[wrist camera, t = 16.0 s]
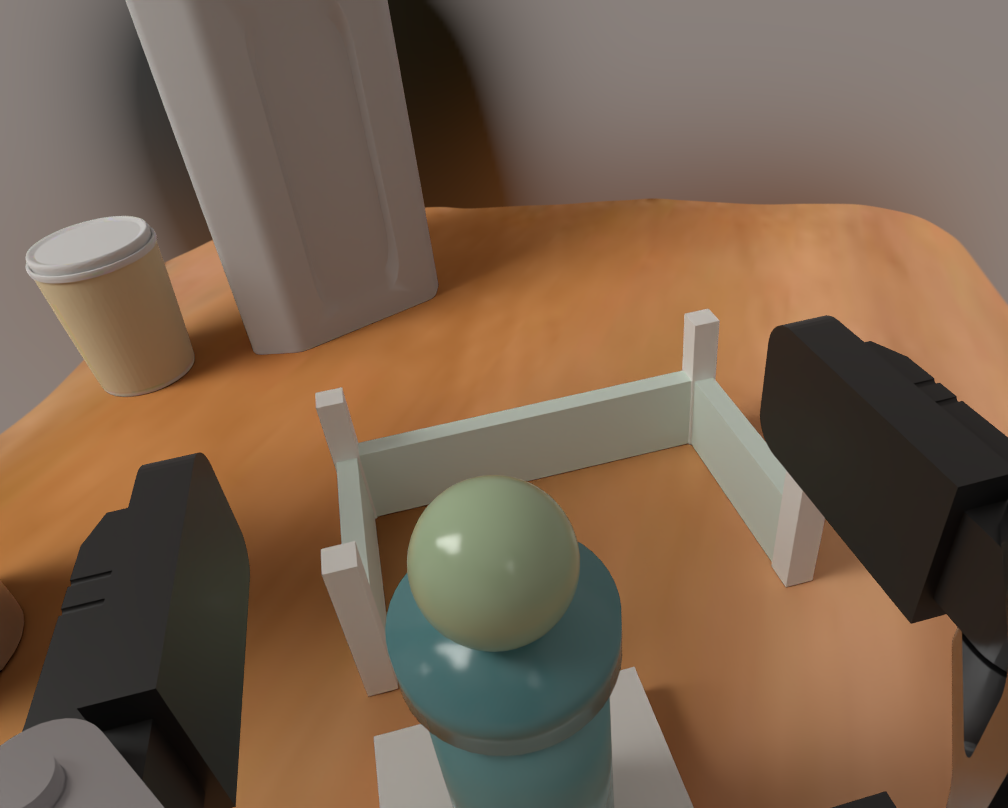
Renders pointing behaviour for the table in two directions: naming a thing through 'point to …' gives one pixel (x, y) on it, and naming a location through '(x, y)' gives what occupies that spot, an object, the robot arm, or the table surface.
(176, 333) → the coffee cup
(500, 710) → the teal peg with ball
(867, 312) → the table surface
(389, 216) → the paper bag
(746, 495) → the rectangular frame with posts
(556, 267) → the table surface
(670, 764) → the stone tile
